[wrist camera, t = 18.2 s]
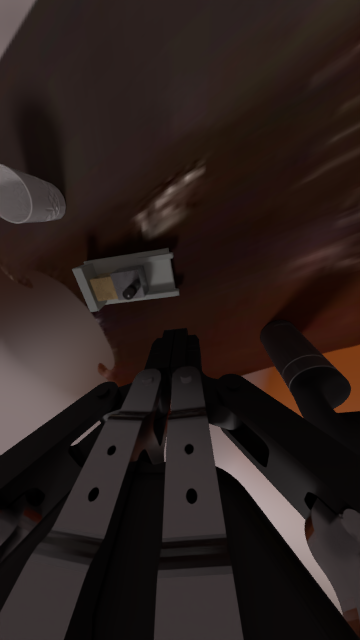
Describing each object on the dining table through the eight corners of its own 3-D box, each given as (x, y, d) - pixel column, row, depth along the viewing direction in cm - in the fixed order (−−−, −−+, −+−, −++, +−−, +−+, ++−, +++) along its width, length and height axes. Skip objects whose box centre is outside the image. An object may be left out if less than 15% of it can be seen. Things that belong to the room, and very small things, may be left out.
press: (172, 247, 40) (169, 251, 34) (180, 293, 45) (178, 303, 39) (87, 260, 43) (70, 266, 37) (103, 302, 48) (91, 313, 42)
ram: (143, 264, 40) (128, 278, 31) (149, 289, 43) (137, 309, 34) (118, 268, 41) (96, 282, 32) (126, 292, 44) (107, 312, 34)
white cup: (75, 198, 37) (38, 191, 28) (60, 231, 40) (24, 233, 31) (37, 167, 34) (-15, 148, 26) (25, 204, 38) (-25, 199, 29)
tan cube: (126, 291, 44) (118, 298, 40) (107, 293, 45) (98, 301, 40) (119, 270, 42) (111, 276, 37) (100, 273, 42) (89, 279, 38)
